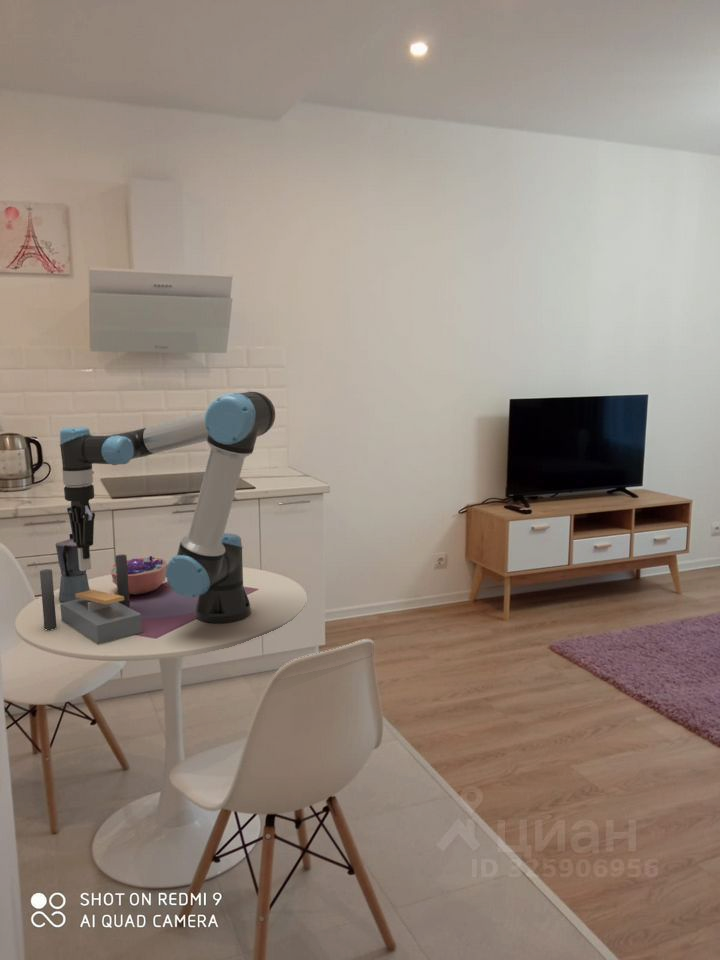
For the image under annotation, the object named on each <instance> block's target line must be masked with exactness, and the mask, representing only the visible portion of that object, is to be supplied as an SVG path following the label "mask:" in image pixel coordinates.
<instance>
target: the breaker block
mask: <svg viewBox="0 0 720 960" xmlns="http://www.w3.org/2000/svg"><path fill="white" fill-rule="evenodd" d="M59 605H60V615H61V617H60V618H61V622H63V623H64V624H66V625H68V626H69V627H71V628H72V629H74V630H75V631H77V632H78V633H80V634H81V635H83V636H85V637H86V638H88V639H89V640H91V641H92V642H94V643H95V644H97V645H100V644H105V643H109V642H113V641H116V640H119V639H124V638H128V637H130V636H134V635H139V634H141V633H143V622H142V621H143V620H142V613H140V612H138V611H136V610H134V609H133V608H131V607H130V608H129V607H127V606H125V605H123V604H121V603H119V602H114V603H110V604H102V603H97V602H93V601H89V600H85V599H76V600H72V601H68V602H60V603H59Z"/></svg>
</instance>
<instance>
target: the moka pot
mask: <svg viewBox="0 0 720 960" xmlns="http://www.w3.org/2000/svg"><path fill="white" fill-rule="evenodd" d="M55 549H56V553H57V554H56V555H57V561H58V564H59V565H58V566H59V569H60V575H61V576H60V583H59V584H60V585H59V593H58V600H59V602H60V603H63V602H68V601H72V600H76V599H81V598H76V597H75V594H76V593H80V592H85V591H89V590H91V589H90V585H89V580H88V574H87V570H84V571H80V570H79V559H78V547H77V545H76V543H74V541H73V536H72V533H70V534H69V539H66V540H62V541H58V542H55Z"/></svg>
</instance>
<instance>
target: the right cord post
mask: <svg viewBox="0 0 720 960" xmlns="http://www.w3.org/2000/svg"><path fill="white" fill-rule="evenodd" d="M127 557H128V556H127V554H118V555H115V564H116V573H117V585H116V586H117V595H120V596H124V600H123V601H118V602H119V603H121V604H123V605H125V606H127V607H129V608H131V606H130V605H131V604H130V593H129V586H128V571H127V560H128V559H127Z"/></svg>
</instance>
